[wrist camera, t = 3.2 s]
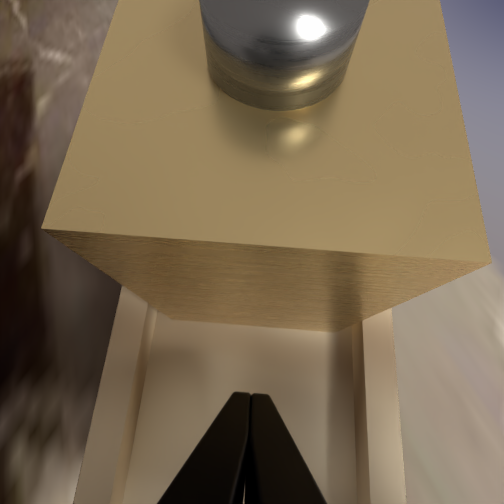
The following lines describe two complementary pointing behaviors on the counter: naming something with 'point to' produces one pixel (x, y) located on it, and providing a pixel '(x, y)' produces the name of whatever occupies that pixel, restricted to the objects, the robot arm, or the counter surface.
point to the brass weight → (273, 161)
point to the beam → (243, 380)
